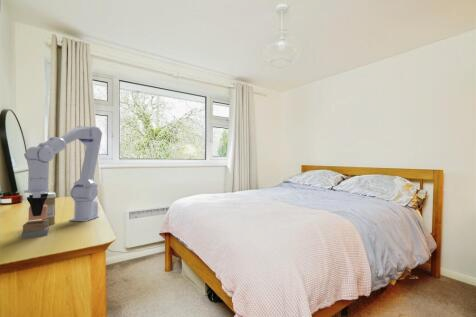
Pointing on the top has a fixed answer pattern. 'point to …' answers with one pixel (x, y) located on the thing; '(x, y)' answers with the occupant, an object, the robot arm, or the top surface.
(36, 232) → the tower base
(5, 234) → the top surface
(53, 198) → the sprinkles bottle
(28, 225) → the tower top
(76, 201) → the robot arm
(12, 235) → the top surface
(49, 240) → the top surface
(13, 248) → the top surface
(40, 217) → the block
